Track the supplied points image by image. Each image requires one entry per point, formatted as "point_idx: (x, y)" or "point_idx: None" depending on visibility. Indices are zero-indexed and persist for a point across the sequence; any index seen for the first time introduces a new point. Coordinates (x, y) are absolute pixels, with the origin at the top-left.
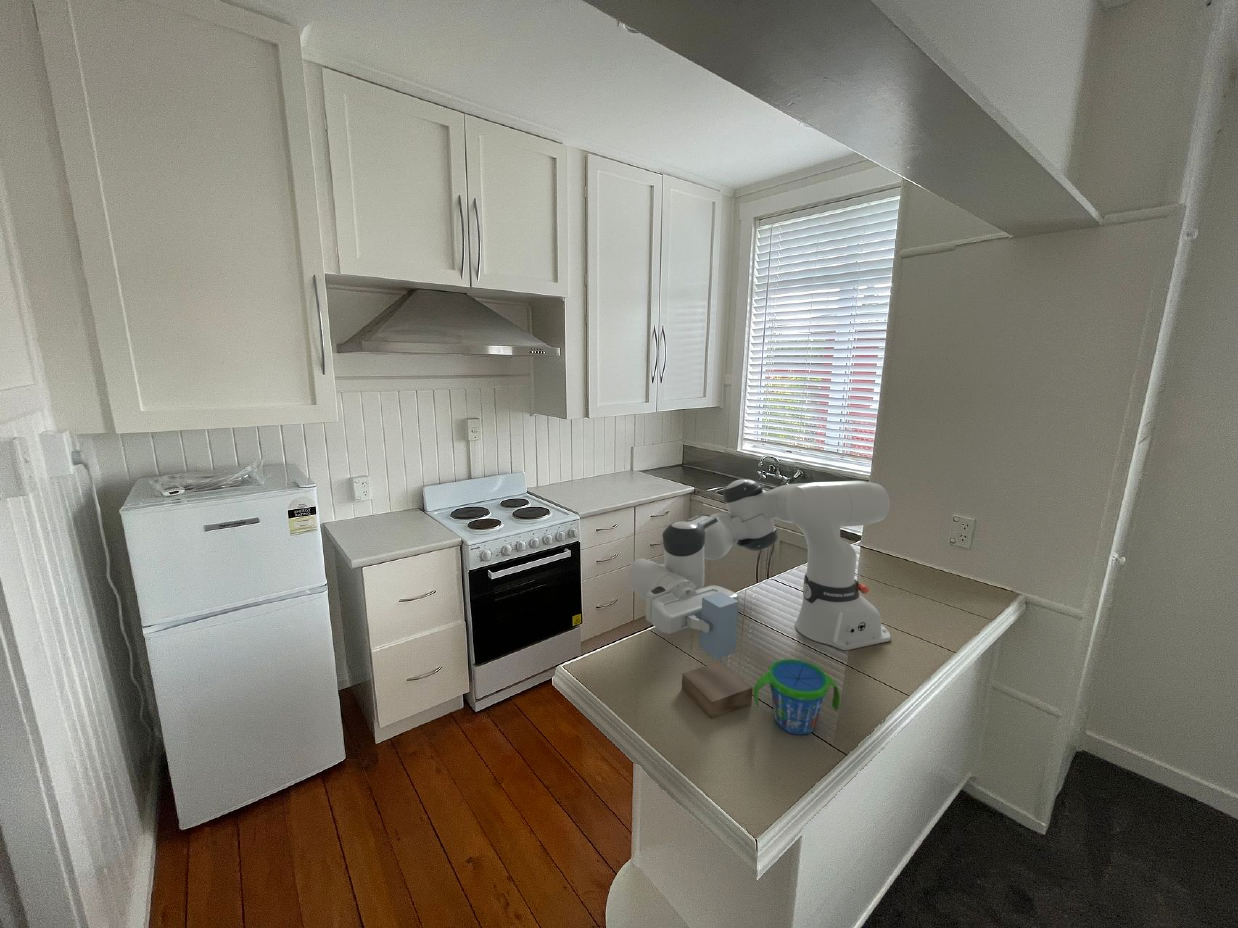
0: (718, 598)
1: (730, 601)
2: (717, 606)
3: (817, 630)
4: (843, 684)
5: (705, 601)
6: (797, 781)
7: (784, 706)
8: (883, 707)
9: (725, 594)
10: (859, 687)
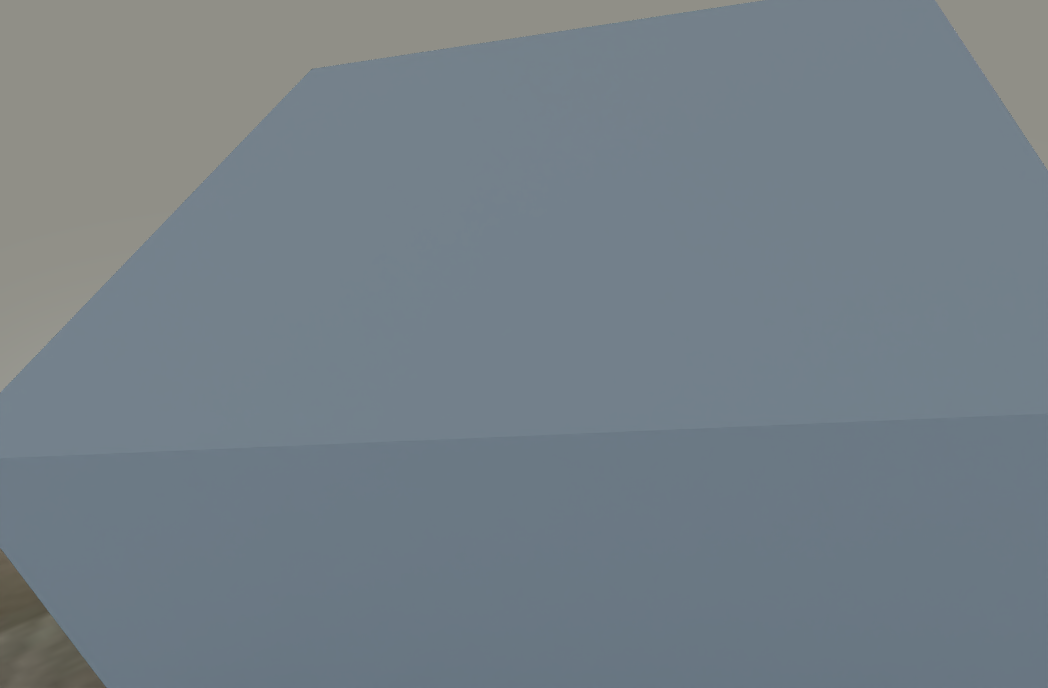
0: (538, 203)
1: (440, 85)
2: (933, 18)
3: None
4: (9, 626)
5: None
6: None
7: None
8: None
9: (117, 282)
10: (4, 574)
